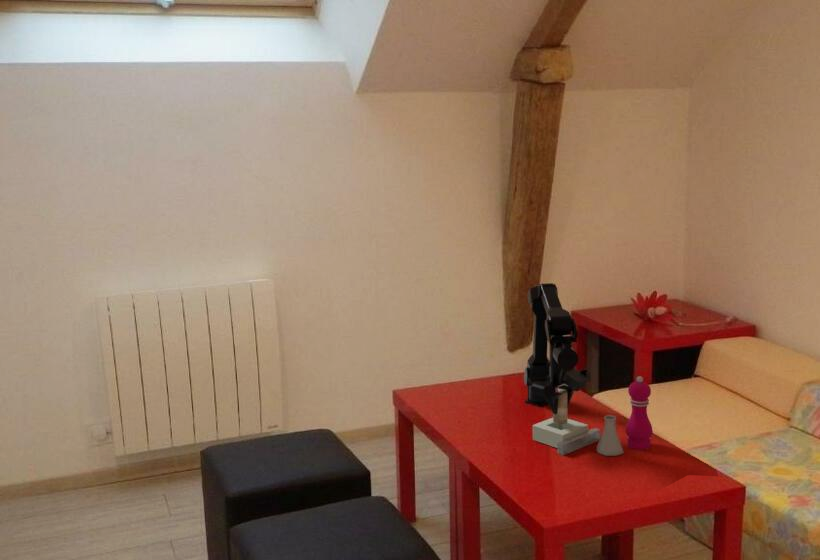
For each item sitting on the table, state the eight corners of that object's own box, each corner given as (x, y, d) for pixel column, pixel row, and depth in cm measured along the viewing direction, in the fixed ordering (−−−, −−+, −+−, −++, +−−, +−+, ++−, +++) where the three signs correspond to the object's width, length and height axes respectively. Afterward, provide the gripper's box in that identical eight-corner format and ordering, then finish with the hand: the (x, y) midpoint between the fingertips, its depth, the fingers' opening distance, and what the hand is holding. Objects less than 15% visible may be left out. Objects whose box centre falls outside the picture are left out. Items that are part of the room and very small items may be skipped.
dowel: (550, 421, 251) (550, 391, 249) (559, 418, 254) (559, 387, 252) (561, 425, 248) (561, 394, 246) (570, 421, 251) (570, 391, 249)
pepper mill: (653, 451, 242) (654, 380, 238) (625, 450, 243) (626, 380, 239) (651, 441, 249) (652, 372, 245) (624, 440, 250) (625, 372, 246)
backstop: (557, 453, 243) (557, 443, 242) (594, 437, 253) (594, 427, 252) (563, 455, 241) (563, 445, 240) (600, 439, 251) (600, 429, 251)
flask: (591, 449, 245) (591, 414, 243) (614, 445, 247) (615, 411, 245) (604, 458, 238) (605, 423, 236) (628, 454, 240) (628, 419, 238)
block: (532, 439, 253) (532, 425, 252) (558, 429, 260) (557, 415, 259) (562, 450, 244) (562, 435, 243) (588, 439, 251) (588, 424, 250)
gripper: (560, 372, 235) (560, 427, 238) (604, 357, 247) (603, 410, 250) (528, 363, 244) (529, 417, 247) (572, 349, 255) (572, 401, 259)
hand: (560, 412), depth 250 cm, fingers closed on dowel, 4 cm apart
